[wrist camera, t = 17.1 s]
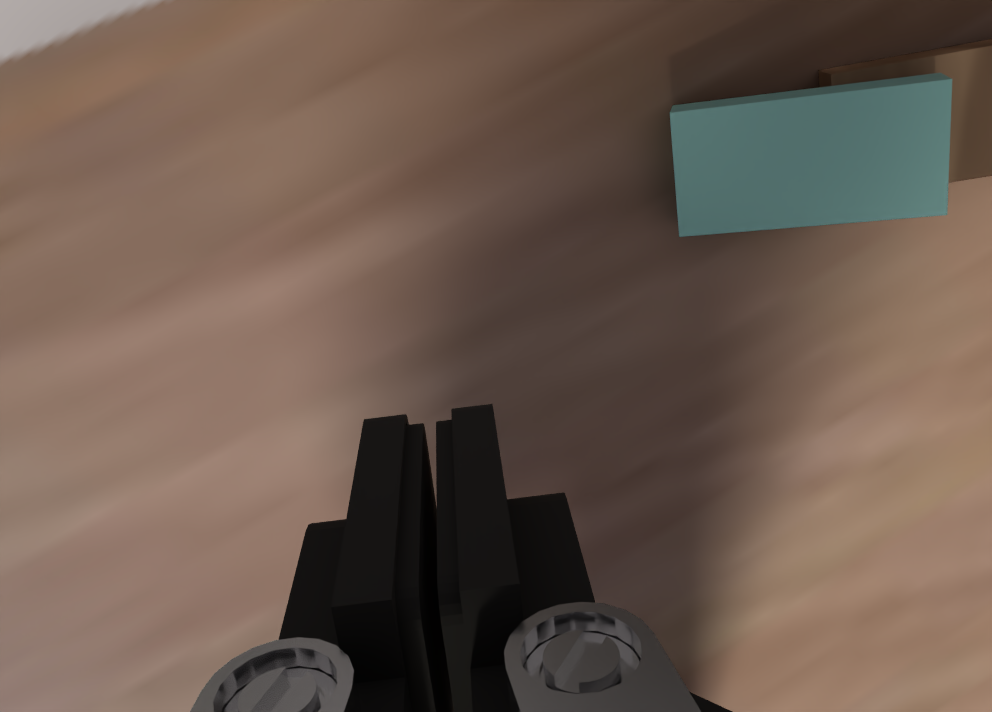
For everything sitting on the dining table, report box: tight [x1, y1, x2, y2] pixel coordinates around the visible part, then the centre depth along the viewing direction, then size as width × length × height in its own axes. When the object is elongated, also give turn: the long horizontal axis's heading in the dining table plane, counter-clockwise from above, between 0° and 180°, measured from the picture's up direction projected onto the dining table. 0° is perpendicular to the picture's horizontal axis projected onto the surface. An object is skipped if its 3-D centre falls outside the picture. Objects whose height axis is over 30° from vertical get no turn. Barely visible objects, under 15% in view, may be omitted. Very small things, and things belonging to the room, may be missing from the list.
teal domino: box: [670, 73, 952, 237], centre depth 35 cm, size 2×5×10 cm
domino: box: [819, 39, 992, 182], centre depth 36 cm, size 2×5×10 cm
